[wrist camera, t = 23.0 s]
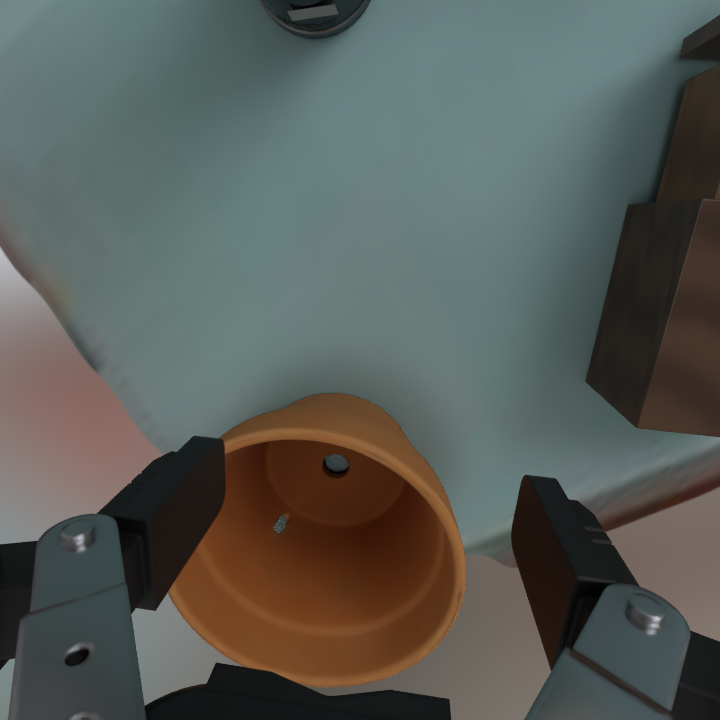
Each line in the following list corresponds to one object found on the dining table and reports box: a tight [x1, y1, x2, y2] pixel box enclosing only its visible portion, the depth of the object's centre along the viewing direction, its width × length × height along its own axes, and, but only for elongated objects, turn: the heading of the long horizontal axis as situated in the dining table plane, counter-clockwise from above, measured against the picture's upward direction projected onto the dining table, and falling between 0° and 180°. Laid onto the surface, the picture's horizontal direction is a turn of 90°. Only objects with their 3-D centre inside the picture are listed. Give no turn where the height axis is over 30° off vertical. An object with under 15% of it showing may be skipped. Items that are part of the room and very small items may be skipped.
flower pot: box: [167, 393, 466, 687], centre depth 37 cm, size 21×21×15 cm
